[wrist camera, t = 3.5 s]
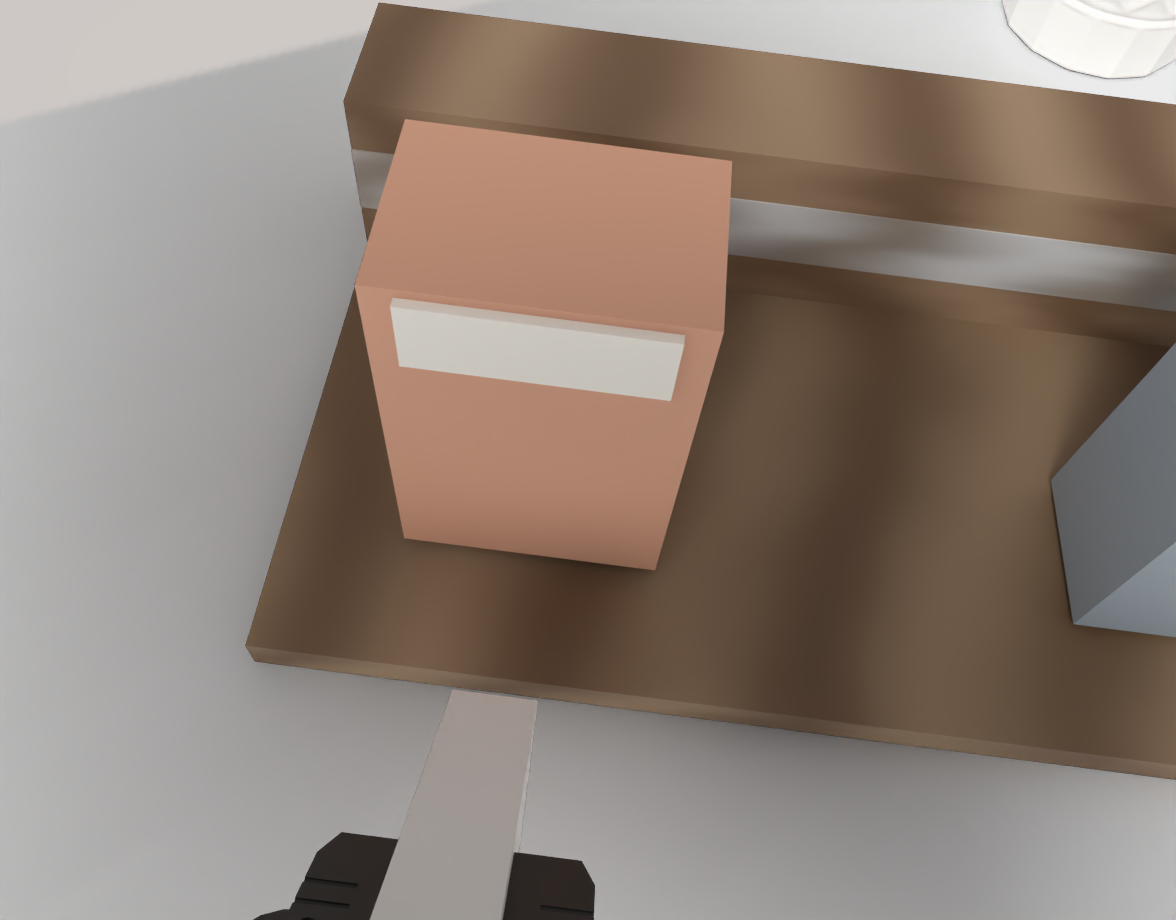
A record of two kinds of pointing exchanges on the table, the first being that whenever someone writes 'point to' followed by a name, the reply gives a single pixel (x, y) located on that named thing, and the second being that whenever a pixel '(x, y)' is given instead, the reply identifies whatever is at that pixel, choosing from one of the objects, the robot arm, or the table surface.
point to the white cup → (1098, 34)
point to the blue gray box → (1124, 513)
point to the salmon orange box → (543, 336)
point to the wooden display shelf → (793, 407)
